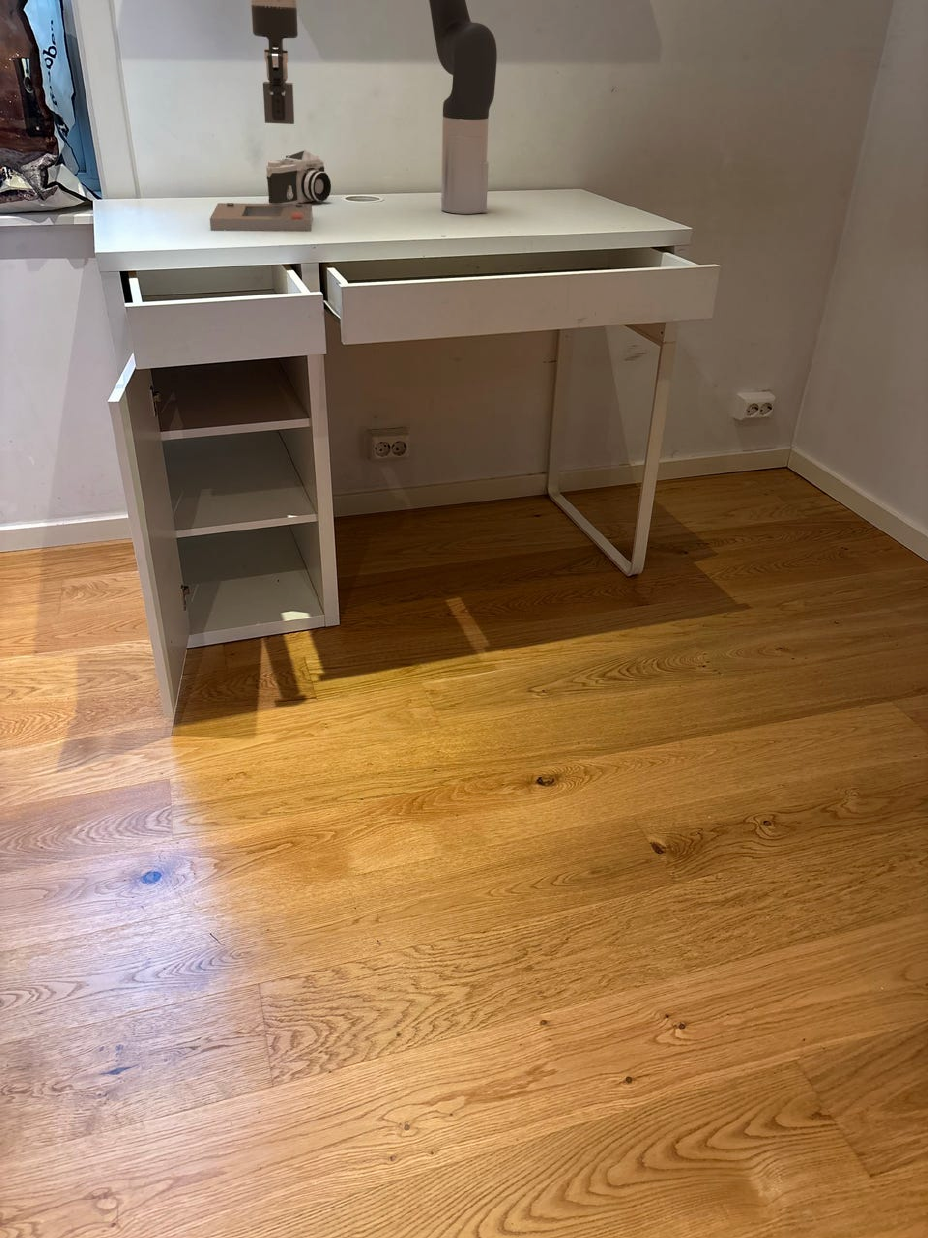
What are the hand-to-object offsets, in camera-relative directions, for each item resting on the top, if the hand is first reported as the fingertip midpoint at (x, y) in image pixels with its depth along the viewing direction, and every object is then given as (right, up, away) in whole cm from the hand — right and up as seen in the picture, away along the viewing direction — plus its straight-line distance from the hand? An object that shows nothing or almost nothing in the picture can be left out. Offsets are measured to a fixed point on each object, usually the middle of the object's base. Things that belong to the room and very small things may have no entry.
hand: (279, 117), depth 167 cm
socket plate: (-5, -15, +11) cm, 19 cm away
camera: (-1, -1, +32) cm, 32 cm away
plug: (0, -1, 0) cm, 1 cm away
